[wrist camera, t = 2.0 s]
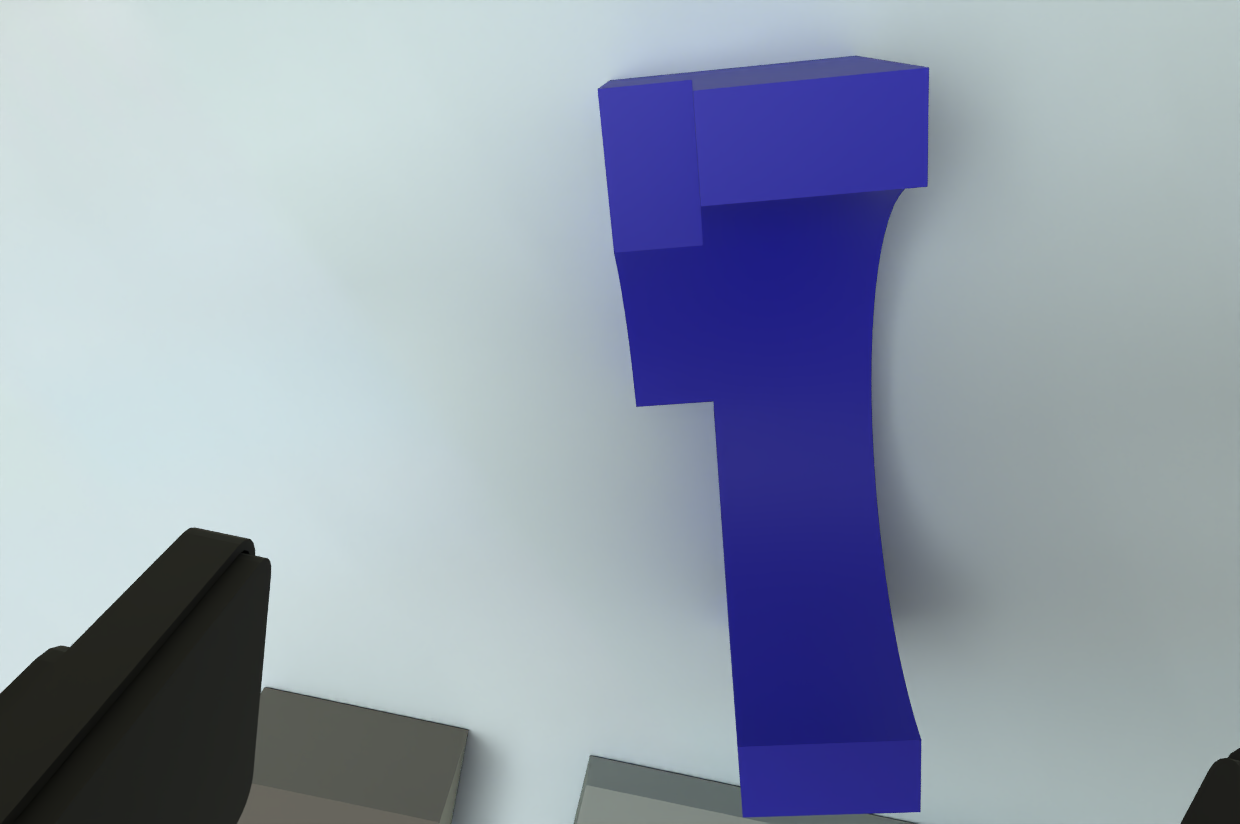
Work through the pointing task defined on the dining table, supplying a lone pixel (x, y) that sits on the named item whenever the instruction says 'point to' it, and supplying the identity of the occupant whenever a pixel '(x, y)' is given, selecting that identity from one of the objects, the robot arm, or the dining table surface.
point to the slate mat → (675, 800)
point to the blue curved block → (780, 388)
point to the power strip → (350, 765)
